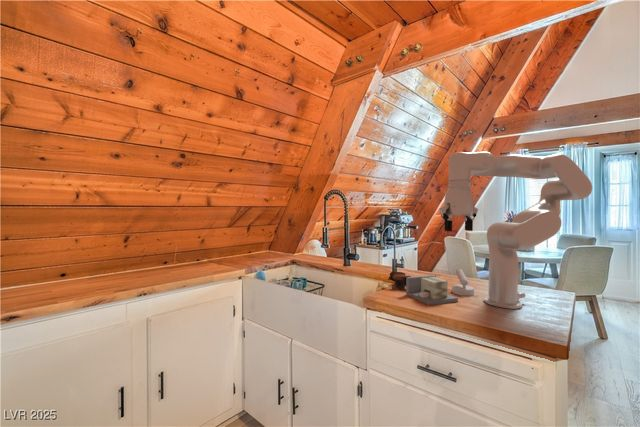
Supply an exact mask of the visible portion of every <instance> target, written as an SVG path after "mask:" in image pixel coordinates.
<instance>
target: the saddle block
mask: <svg viewBox="0 0 640 427" xmlns="http://www.w3.org/2000/svg"><path fill="white" fill-rule="evenodd" d="M429 291H431V298H432V299H439V298H447V294H448V280H445V279H441V278H439V277H437V276H436V277H427V278H421V292H429Z"/></svg>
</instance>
